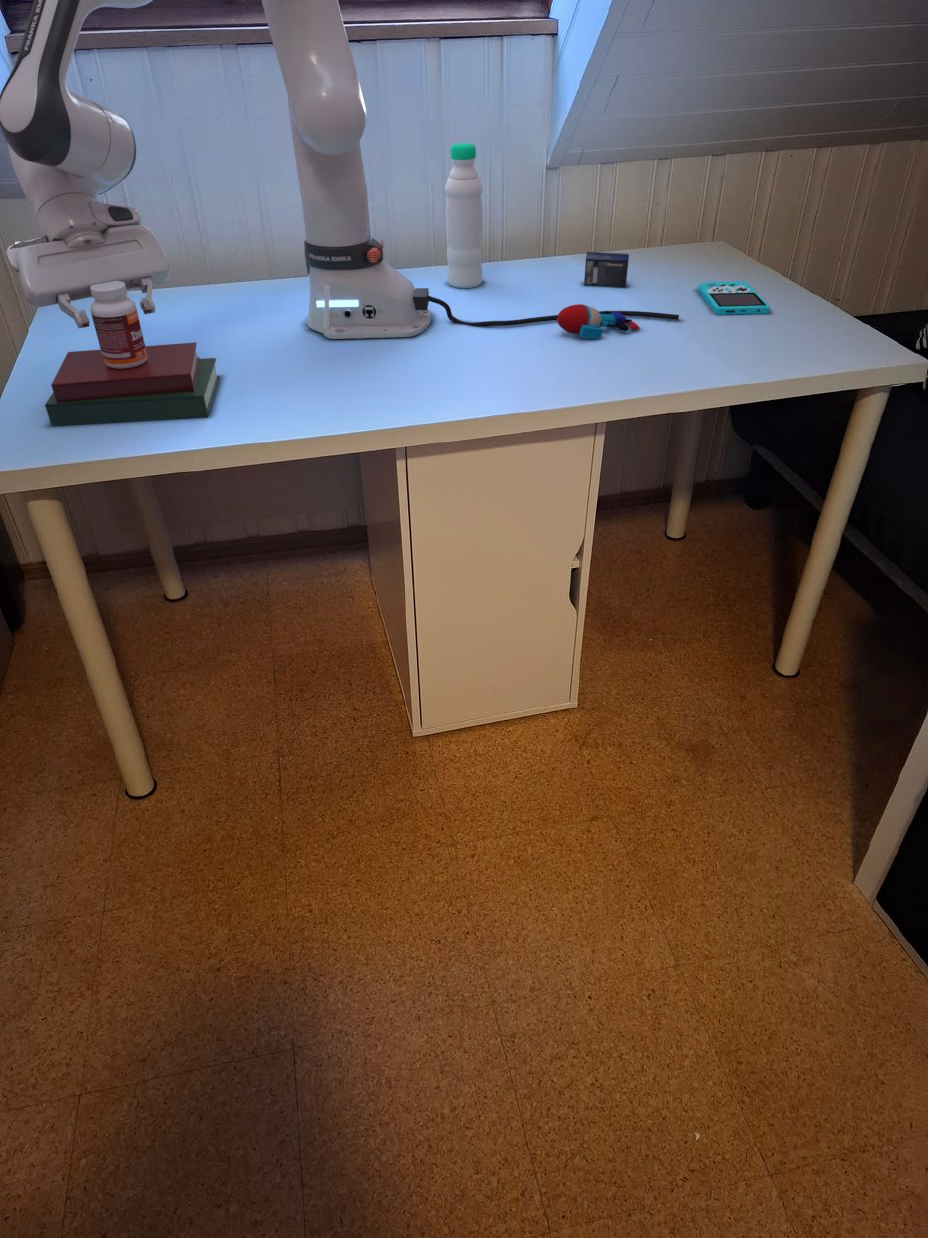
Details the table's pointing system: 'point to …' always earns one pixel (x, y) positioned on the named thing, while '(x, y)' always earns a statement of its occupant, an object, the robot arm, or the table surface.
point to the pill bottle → (117, 326)
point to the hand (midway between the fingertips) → (117, 318)
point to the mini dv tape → (606, 269)
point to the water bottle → (464, 219)
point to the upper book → (127, 374)
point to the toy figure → (591, 321)
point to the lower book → (140, 404)
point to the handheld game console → (732, 298)
